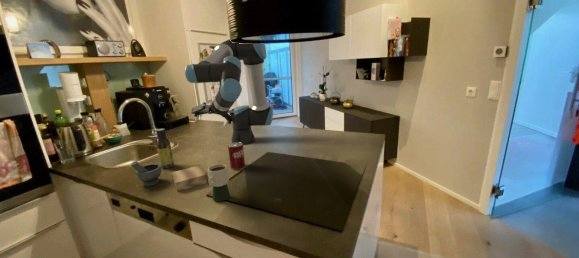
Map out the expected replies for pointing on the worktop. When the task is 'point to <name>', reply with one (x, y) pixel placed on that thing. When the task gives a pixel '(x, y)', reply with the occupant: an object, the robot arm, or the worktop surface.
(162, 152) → the sauce bottle
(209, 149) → the worktop surface
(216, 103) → the robot arm
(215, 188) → the character mug
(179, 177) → the oak block
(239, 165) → the soda can
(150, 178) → the mortar and pestle
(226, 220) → the worktop surface
